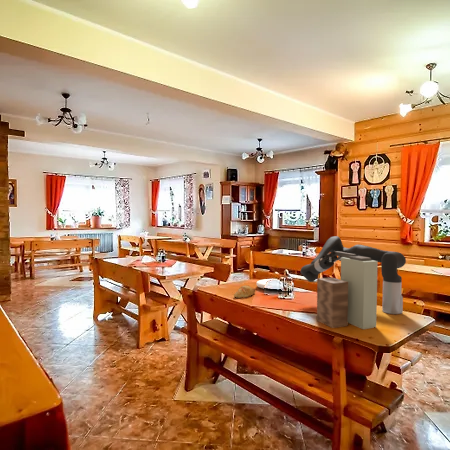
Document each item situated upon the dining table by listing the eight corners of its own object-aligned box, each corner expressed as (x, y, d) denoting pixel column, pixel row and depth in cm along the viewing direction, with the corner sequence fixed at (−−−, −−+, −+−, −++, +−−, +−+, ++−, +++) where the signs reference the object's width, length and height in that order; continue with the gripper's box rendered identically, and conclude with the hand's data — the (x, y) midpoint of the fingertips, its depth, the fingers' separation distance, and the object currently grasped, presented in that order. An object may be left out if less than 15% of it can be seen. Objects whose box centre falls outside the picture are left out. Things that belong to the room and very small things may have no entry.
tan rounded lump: (237, 304, 209) (242, 294, 206) (227, 295, 215) (231, 285, 212) (257, 297, 225) (262, 288, 222) (247, 288, 231) (251, 279, 228)
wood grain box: (316, 320, 169) (317, 278, 168) (331, 318, 172) (331, 277, 172) (332, 328, 158) (333, 283, 157) (347, 325, 161) (348, 282, 160)
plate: (258, 277, 256) (293, 278, 251) (258, 285, 256) (293, 287, 250) (254, 280, 229) (293, 282, 223) (254, 290, 228) (293, 292, 223)
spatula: (331, 255, 179) (331, 251, 179) (340, 254, 181) (340, 251, 181) (361, 261, 158) (361, 256, 158) (371, 260, 160) (371, 256, 160)
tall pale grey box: (340, 319, 171) (341, 257, 170) (352, 317, 174) (353, 256, 173) (363, 329, 156) (364, 262, 155) (376, 327, 159) (377, 261, 158)
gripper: (336, 268, 190) (354, 258, 177) (315, 270, 185) (332, 259, 172) (332, 256, 193) (349, 245, 180) (311, 258, 188) (327, 246, 175)
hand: (341, 252), depth 176 cm, fingers open, 7 cm apart
